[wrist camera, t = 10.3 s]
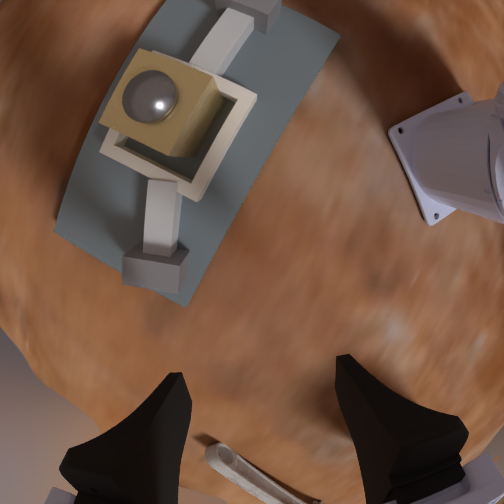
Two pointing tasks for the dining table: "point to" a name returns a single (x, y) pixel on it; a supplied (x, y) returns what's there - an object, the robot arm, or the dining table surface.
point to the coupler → (164, 104)
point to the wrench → (248, 476)
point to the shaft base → (210, 152)
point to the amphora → (500, 501)
